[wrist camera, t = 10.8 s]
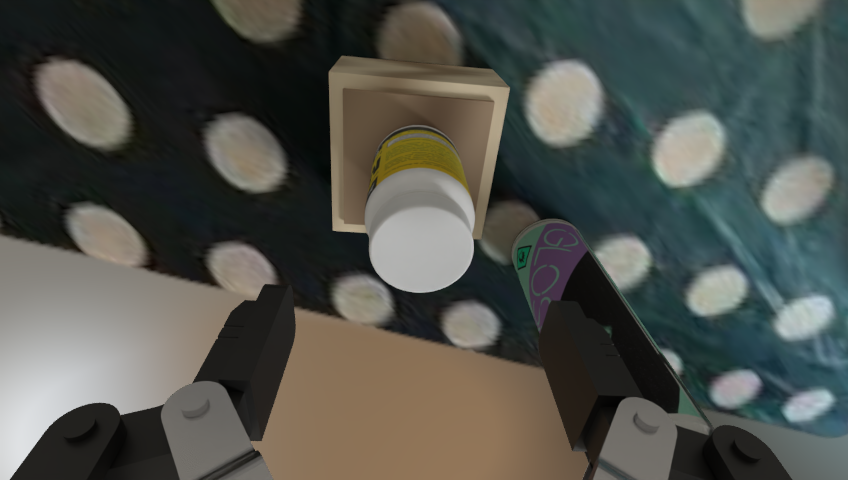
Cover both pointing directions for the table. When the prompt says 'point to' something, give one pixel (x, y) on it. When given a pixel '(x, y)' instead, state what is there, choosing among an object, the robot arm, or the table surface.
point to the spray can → (599, 311)
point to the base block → (404, 106)
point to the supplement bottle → (419, 211)
